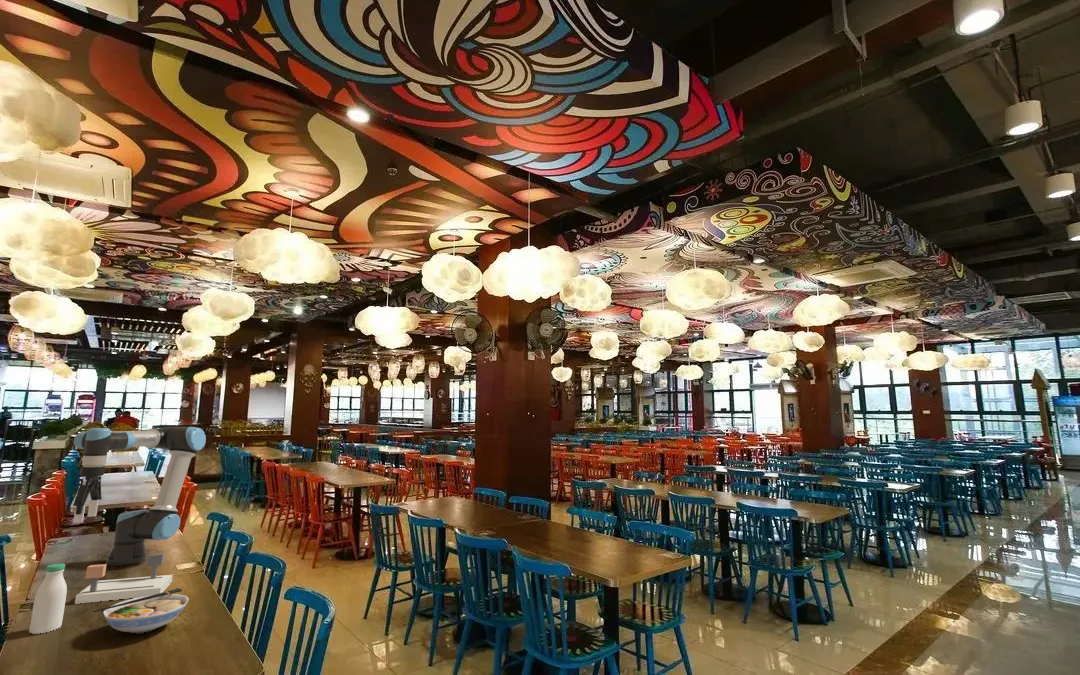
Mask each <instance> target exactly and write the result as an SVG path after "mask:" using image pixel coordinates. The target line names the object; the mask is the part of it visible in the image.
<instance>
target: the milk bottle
mask: <svg viewBox="0 0 1080 675" xmlns="http://www.w3.org/2000/svg"><path fill="white" fill-rule="evenodd" d="M65 569H66V564H65V563H63V562H61V563H53V564H49V565H47V566H46V568H45V572H44V573H45V575H44V576H45V577H44V578H43V581H42V582H41V584H40V585H39V586H38V588H37V590H36V592H35V596H34V599H33V606H32V612H31V617H30V623H29V628H28V632H29V634H31V633H32V635H41V634H46V632H47V633H50V631H51V632H54V631H57V630H59V629H60V628H61V627H62V624H63V621H64V620H63V618H64V612H65V607H66V606H65V605H66V599H67V592H68V587H67V583H66V580H65V577H64V571H65ZM58 628H59V629H58ZM56 629H57V630H56ZM53 630H54V631H53ZM40 633H41V634H40Z"/></svg>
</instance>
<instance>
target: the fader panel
mask: <svg viewBox="0 0 1080 675" xmlns="http://www.w3.org/2000/svg"><path fill="white" fill-rule="evenodd" d="M150 577H151V575H150V576H141V577H128V578H127V577H126V578H117V579H116V578H115V579H105V580H98V584H97V590H96V591H92V592H90V586H91V584H90V585H88V586H86V587H85V588H84V589H83V590H81V591H80V592H79V593H77V594H76V595H75V600H74V605H79V604H80V603H81V604H89V603H90V604H91V602H92V603H101V602H100V601H102V602H110V601H109V600H113V601H120V600H119V599H124V600H130V599H129V598H138V597H144V596H149V595H155V594H159V593H163V592H166V589H167V588H168V587H169V586H170V585H171V584H170V583H172V582H173V574H166V575H165V574H164V575H156V577H155V578H150Z"/></svg>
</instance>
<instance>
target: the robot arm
mask: <svg viewBox="0 0 1080 675" xmlns="http://www.w3.org/2000/svg"><path fill="white" fill-rule="evenodd" d="M206 436H207V435H206V434H205V432H204V429H202V428H200V427H195V426H167V427H166V426H165V427H158V428H149V429H146V430H120V431H119V430H117V431H114V430H113V431H112V430H111V429H110V428H104V427H103V428H101V427H100V428H98V427H95V428H88V429H87V431H79V433H77V434H76V435H75V436H74V438H73V445H74V446H75V448H76V449H79V450H83V455H82V456H83V457H81V462H82V463H81V465H82V466H81V468H80V472H79V475H80V477H85V478H84V479H81V480H80V484H79V487H78V490H77V494H76V496H75V498H74V501H73V505H72V507H75V510H74V515H73V516H74V517H73V521H72V523H73V524H81V523H83V522H84V517H85V516H84V514H85V511H86V510H85V509H86V505H85V504H86V502H87V499H88V497H89V495H90V500H89V504H88V510H87V518H88V517H89V518H90V517H91V518H92V517H97V514H98V506H99V501H100V500H102V498H103V497H102V477H103V475H105V470H106V466H105V465H106V464H107V458H108V452H109V451H120V450H121V451H124V450H130V449H132V448H139V447H140V448H141V447H145V448H146V449H147V448H148V449H153V448H154V449H161V450H169V451H168V454H170V459H169V462H168V465H167V468H166V470H165V474H164V477H163V479H162V483H161V486H160V489H159V492H158V494H157V497H156V501H155V504H154V505H153V506H151V508H149V509H146V508H145V509H138V510H131V511H125V512H121V513H120V514H118V516H117V520H116V522H115V523H116V525H115V532H114V539H113V546H112V548H111V550H110V551H109V553H108V556H107V558H106V561H105V564H107V565H106V566H112V567H113V566H114V567H115V566H116V567H118V566H120V567H121V566H129V565H134V564H139V563H143V562H145V561H147V559H148V552H147V549H146V545H145V540H149V541H150V540H152V541H161V540H162V541H164V540H168V539H171V538H172V537H173V536H174V535H175V534H176V533H177V532H178V530H179V528H180V526H181V517H180V516H179V515H178V513H179V510H178V509H177V504H178V502H179V498H180V494H181V492H182V488H183V484H184V482H185V479H186V476H187V474H188V473H187V472H188V470H189V467H190V464H191V460H192V458H194V457H196V456H197V453H198V452H199V451H200V450H202V449H203V448H205V445H206V442H207V441H206V440H207V438H206Z"/></svg>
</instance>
